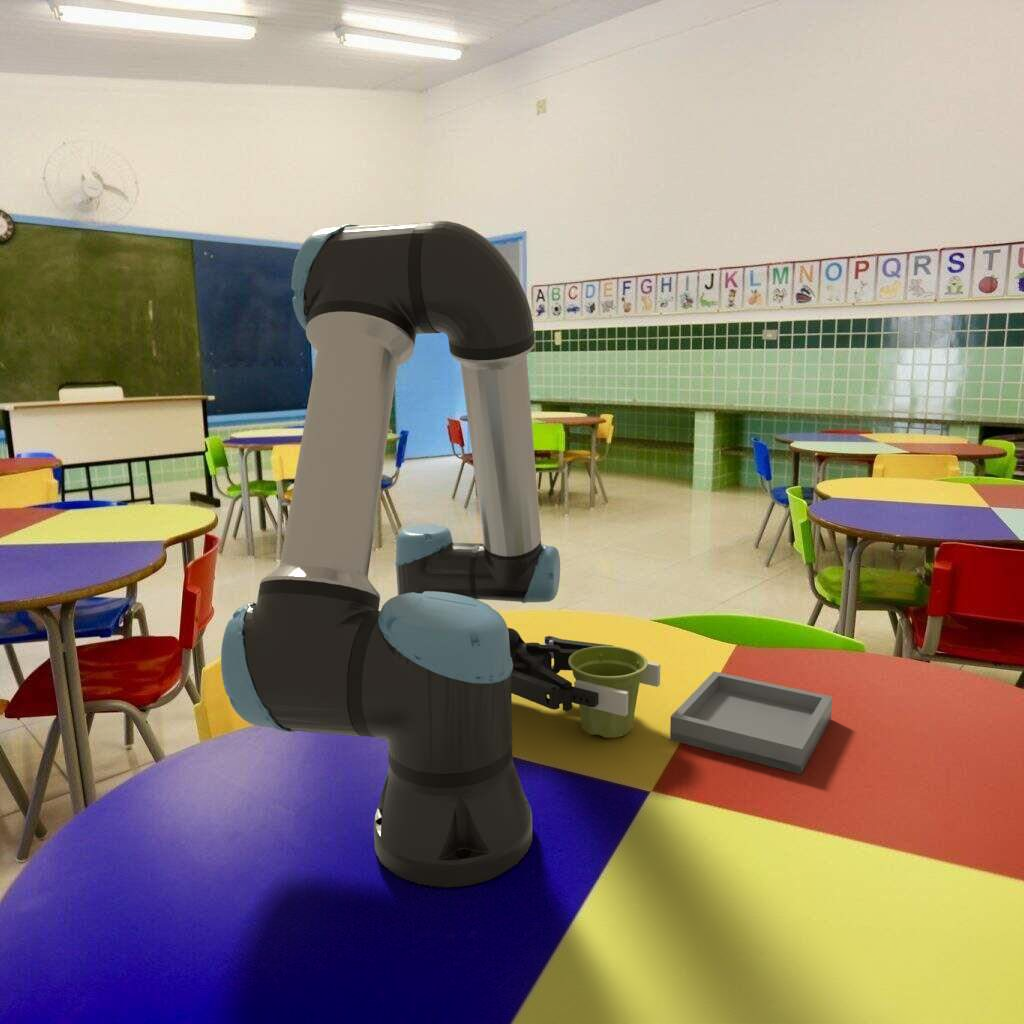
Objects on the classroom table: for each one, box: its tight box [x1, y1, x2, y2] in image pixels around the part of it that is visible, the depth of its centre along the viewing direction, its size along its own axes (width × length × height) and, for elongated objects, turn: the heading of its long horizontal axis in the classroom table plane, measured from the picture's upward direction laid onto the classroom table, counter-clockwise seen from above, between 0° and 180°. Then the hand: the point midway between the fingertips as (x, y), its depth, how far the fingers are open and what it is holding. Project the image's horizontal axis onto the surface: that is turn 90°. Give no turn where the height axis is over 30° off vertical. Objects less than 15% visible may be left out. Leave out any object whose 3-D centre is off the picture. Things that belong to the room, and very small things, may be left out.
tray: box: [669, 671, 833, 775], centre depth 97 cm, size 15×15×3 cm
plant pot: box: [568, 645, 649, 739], centre depth 97 cm, size 9×9×9 cm
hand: (643, 689), depth 94 cm, fingers closed on plant pot, 8 cm apart
